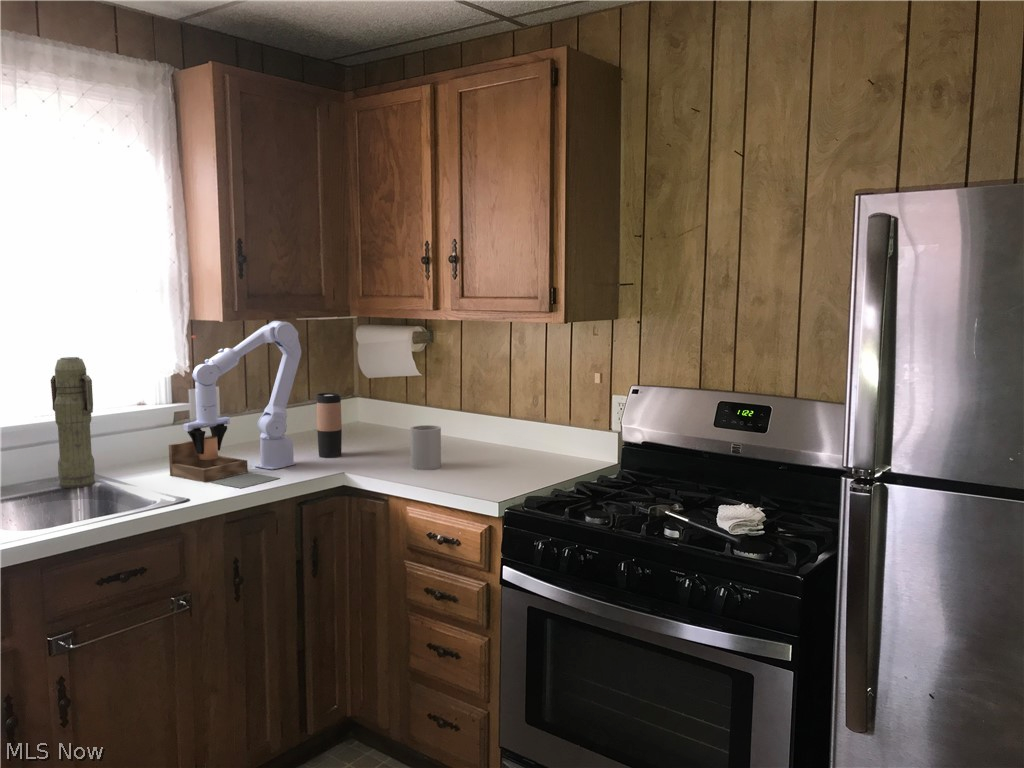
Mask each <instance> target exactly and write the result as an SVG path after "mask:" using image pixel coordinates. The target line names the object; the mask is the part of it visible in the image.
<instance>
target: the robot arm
mask: <svg viewBox="0 0 1024 768" xmlns="http://www.w3.org/2000/svg"><path fill="white" fill-rule="evenodd" d="M268 343H269V344H271V343H274V344H275V345H276V346H277V348H278V349H279V350H280V352H281V353H282V356H281V361H280V363H279V367H278V370H277V373H276V378H275V381H274V385H273V388H272V391H271V394H270V395H271V396H270V399H269V403H268V404H267V406H266V407H264V410H263V413H262V415H260V417H259V419H258V420H257V429H258V430H259V431H260V436H259V443H260V444H259V445H260V446H259V447H260V448H259V449H260V463H259V464H255V465H254V467H255V468H258V469H259V468H260V469H266V470H270V471H271V470H277V469H282V468H285V467H291V466H293V465H296V462H294V443H293V440H292V438H291V437H290V436H289V435H285V434H286V432H287V428H288V426H287V417H288V413H287V405H288V402H289V398H290V395H291V392H292V388H293V385H294V382H295V378H296V373H297V372H298V367H299V363H300V359H301V357H302V348H301V347H302V346H301V344H300V340H299V331H298V330H297V329H296V327H294V325H293V324H292V323H291V322H288V321H280V320H273V321H270V322H269V323H268V324H265V325H264V326H262V327H260V328H258V329H257V330H256V331H254V332H253V333H252V334H251V335H249V336H248V337H246V338H245V339H244V340H242V341H241V342H239V344H237V345H236V346H234V347H232V348H229V347H225V348H224V349H223V348H220V349H218V350H217V352H218V353H217V354H214V355H213V356H212V357H210V358H209V359H208V358H207V359H205V360H204V363H200V364H198V365H196V366H195V367H194V369H193V372H192V373H191V376H192V379H193V380H194V382H195V385H194V386H195V390H194V392H195V393H194V394H195V412H196V413H195V417H196V420H194V421H190V422H186V423H183V431H184V432H187V435H188V436H189V437H190V438H191V441H193V443H194V445H195V448H196V452H197V454H203V453H204V436H206V430H203V429H207V428H209V429H210V434H211V436H217V440H218V452H219V451H220V450H221V448H222V444H223V443H222V442H223V439H224V437H225V435H226V432H227V431H228V426H227V425H231V419H230V418H231V417H229V416H228V417H227V416H224V417H223V416H222V417H218V401H217V399H218V398H217V388H216V387H217V385H216V382H217V381H218V379H219V377H221V376H223V375H224V374H225V373H227V372H229V371H230V370H231V369H233V368H234V367H236V366H238V365H239V362H240V358H242V357H243V356H245V355H247V354H249V352H251V351H252V350H254V349H255V348H257V347H259V346H260V345H263V344H268Z"/></svg>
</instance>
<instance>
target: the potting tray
mask: <svg viewBox="0 0 1024 768" xmlns="http://www.w3.org/2000/svg"><path fill="white" fill-rule="evenodd" d="M168 456H169V457H168V458H169V461H168V462H169V477H177V478H181V479H184V480H185V479H186V480H191V481H197V482H202V483H206V482H211V481H212V482H213V481H215V480H216V481H217V480H221V479H226V478H230V477H234V476H238V475H243V474H247V473H249V471H248V470H249V469H248V468H249V467H248V465H249V464H248V460H246V459H242V458H241V459H240V458H235V457H230V456H225V455H224V456H223V455H218V458H216V459H211V460H201V459H199V454H197V452H196V448H195V445H194V443H193V441H192V440H189V441H182V442H177V443H172V444H168Z"/></svg>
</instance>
